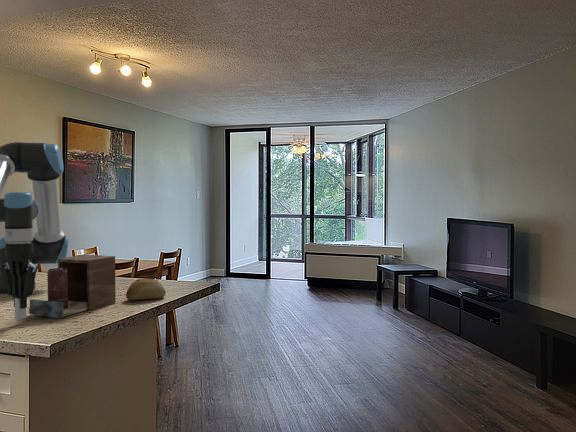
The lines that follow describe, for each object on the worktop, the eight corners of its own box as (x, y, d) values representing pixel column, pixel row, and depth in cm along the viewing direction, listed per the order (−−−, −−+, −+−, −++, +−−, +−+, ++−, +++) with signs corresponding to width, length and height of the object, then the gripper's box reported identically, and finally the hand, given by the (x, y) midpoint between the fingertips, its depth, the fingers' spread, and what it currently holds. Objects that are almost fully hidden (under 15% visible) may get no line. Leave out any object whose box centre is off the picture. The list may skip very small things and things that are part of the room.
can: (71, 307, 164) (70, 267, 163) (63, 312, 158) (63, 270, 157) (52, 307, 164) (52, 267, 163) (45, 312, 157) (44, 270, 157)
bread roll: (123, 299, 184) (123, 278, 184) (161, 295, 191) (161, 275, 191) (128, 304, 176) (128, 282, 175) (168, 299, 183) (168, 279, 183)
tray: (19, 317, 154) (19, 302, 153) (60, 306, 169) (60, 292, 169) (51, 321, 149) (51, 305, 149) (91, 309, 165) (90, 295, 165)
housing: (58, 307, 169) (57, 258, 168) (85, 300, 181) (85, 254, 180) (89, 310, 164) (89, 260, 163) (115, 303, 176) (115, 256, 175)
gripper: (-8, 242, 144) (-6, 319, 145) (24, 244, 140) (25, 323, 141) (14, 240, 151) (15, 313, 152) (45, 242, 147) (46, 317, 148)
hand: (20, 318), depth 146 cm, fingers closed
